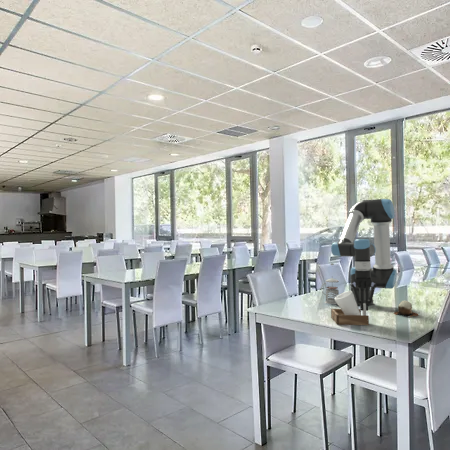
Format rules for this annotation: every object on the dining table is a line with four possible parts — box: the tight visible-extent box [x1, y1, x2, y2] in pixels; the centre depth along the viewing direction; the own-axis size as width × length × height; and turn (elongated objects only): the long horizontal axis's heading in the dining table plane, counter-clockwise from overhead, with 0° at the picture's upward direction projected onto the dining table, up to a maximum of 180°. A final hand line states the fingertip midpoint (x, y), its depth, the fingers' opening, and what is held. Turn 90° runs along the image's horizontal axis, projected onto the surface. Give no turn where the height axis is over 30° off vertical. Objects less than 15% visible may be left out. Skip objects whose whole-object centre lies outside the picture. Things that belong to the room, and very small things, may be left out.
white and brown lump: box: [393, 300, 419, 318], centre depth 212 cm, size 12×10×10 cm
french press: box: [320, 262, 340, 305], centre depth 247 cm, size 10×12×25 cm
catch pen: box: [330, 308, 370, 326], centre depth 197 cm, size 16×15×4 cm
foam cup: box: [334, 290, 360, 315], centre depth 196 cm, size 10×9×13 cm
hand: (364, 317), depth 195 cm, fingers closed
